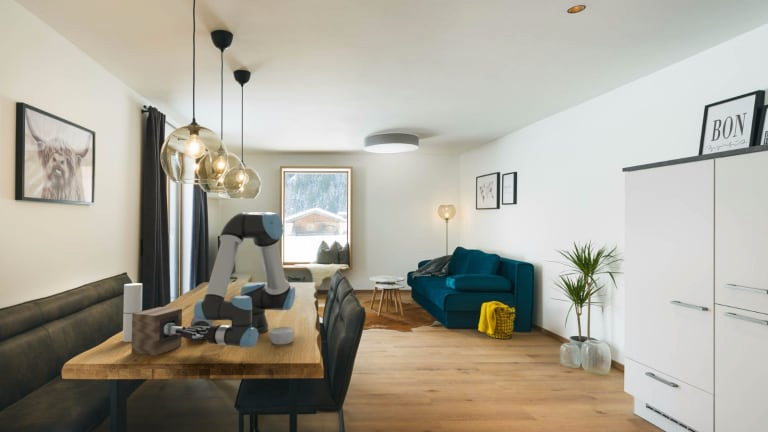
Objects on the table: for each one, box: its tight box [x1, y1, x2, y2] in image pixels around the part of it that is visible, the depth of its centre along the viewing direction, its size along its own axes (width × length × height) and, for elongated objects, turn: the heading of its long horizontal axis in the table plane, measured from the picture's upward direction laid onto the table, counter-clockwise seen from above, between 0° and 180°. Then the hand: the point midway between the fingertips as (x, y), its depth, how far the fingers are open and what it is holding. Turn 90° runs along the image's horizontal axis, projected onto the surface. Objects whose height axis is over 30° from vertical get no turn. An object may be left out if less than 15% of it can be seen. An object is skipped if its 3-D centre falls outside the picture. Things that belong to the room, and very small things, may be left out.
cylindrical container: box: [122, 282, 143, 343], centre depth 188 cm, size 7×7×25 cm
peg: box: [164, 323, 176, 335], centre depth 173 cm, size 12×5×5 cm, turn 74°
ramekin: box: [268, 326, 296, 345], centre depth 187 cm, size 11×11×5 cm
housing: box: [131, 306, 183, 357], centre depth 174 cm, size 12×14×16 cm
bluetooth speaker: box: [190, 314, 213, 340], centre depth 196 cm, size 23×9×10 cm, turn 22°
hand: (172, 329), depth 171 cm, fingers closed
